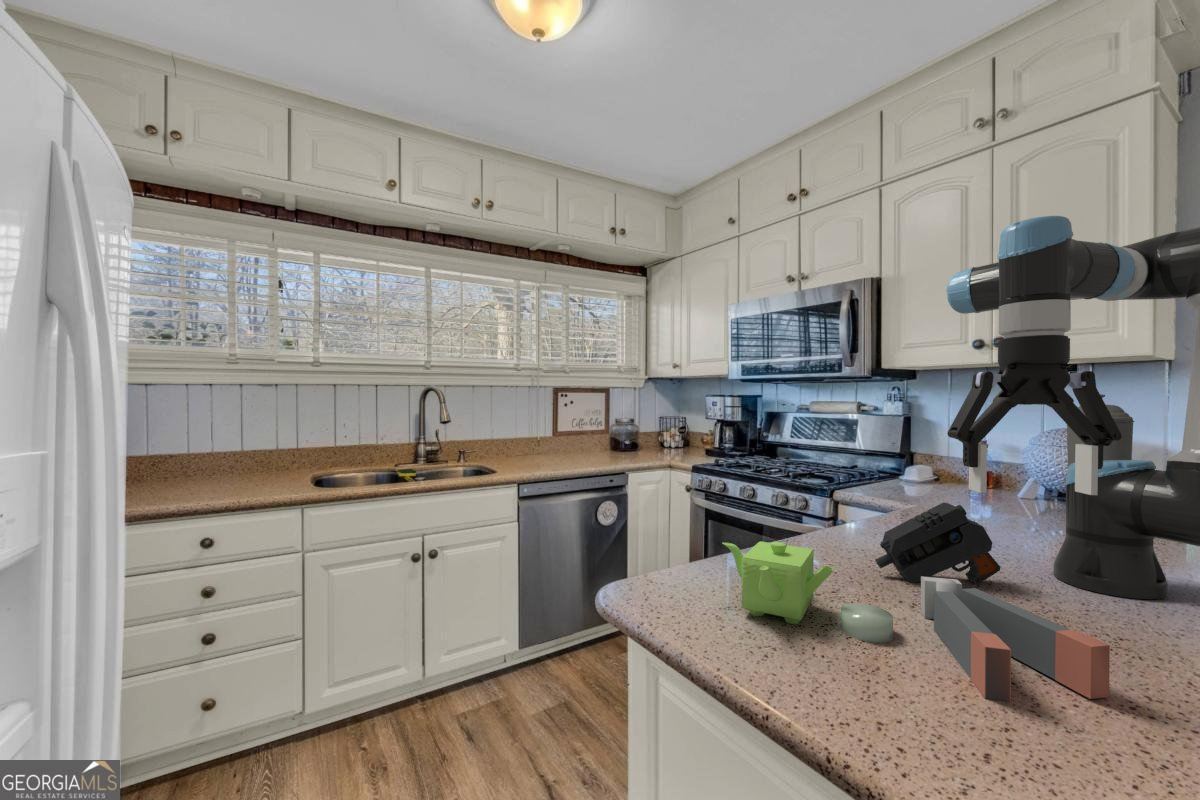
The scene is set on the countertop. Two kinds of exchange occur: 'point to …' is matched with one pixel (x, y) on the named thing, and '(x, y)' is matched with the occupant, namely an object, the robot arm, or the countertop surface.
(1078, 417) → the robot arm
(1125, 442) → the canister
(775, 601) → the kettle
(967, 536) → the tool
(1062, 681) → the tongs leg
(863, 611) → the grey-green pebble
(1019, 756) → the countertop surface
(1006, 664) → the tongs base
